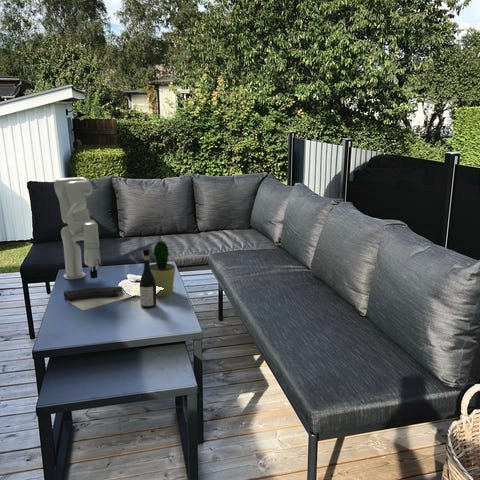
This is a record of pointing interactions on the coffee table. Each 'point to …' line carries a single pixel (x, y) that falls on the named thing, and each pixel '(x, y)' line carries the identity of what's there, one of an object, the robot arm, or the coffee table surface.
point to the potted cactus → (162, 269)
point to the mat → (97, 301)
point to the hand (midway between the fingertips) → (94, 277)
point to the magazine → (93, 293)
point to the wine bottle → (147, 284)
